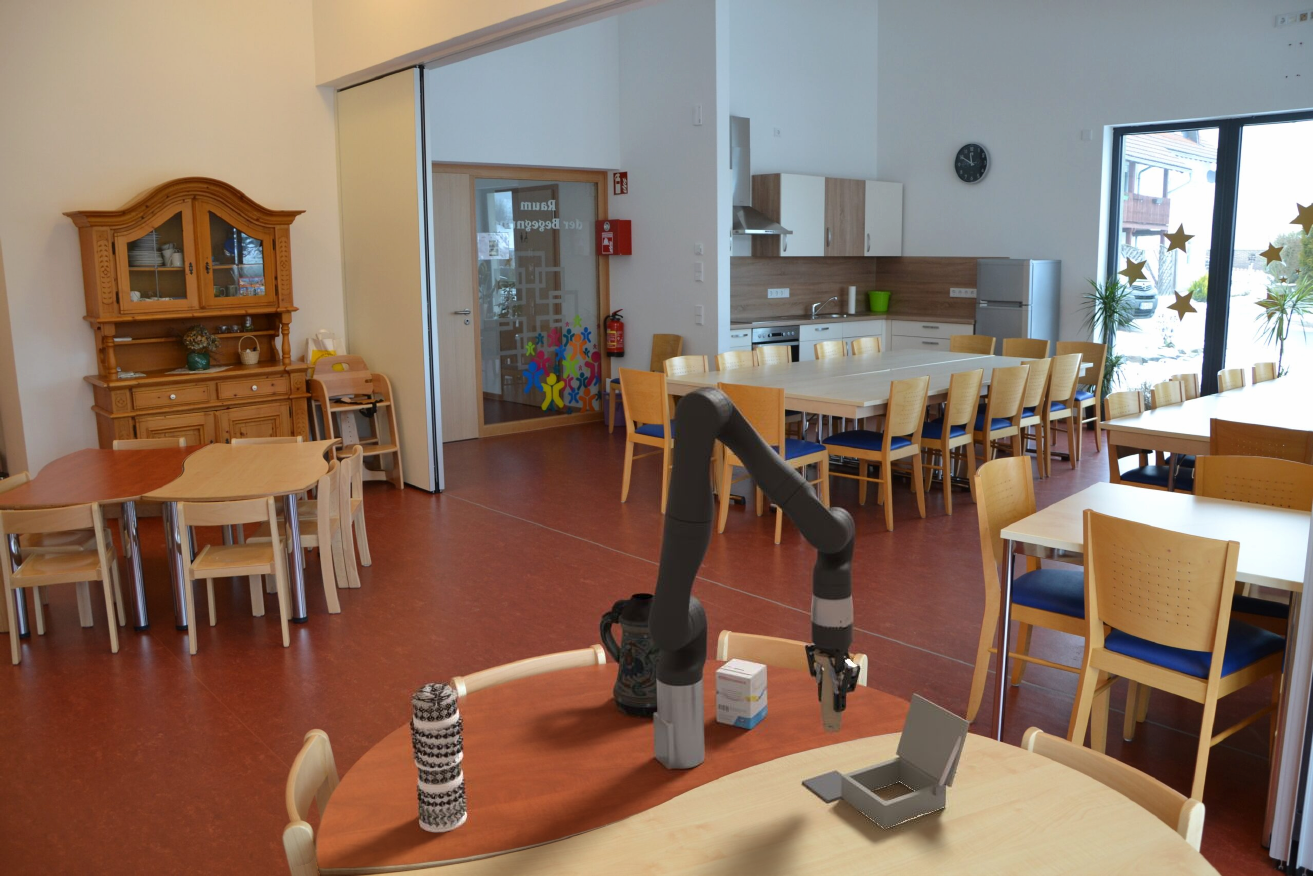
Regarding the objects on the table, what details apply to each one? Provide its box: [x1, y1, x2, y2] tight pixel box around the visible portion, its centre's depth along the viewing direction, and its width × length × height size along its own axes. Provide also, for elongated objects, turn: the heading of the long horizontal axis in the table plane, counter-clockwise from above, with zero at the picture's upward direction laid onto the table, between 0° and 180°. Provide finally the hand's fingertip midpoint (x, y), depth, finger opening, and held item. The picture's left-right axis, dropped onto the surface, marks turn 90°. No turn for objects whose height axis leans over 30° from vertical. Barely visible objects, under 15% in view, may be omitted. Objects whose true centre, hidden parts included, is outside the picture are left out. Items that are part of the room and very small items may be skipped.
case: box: [840, 693, 971, 830], centre depth 178 cm, size 18×14×16 cm
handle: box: [814, 649, 851, 734], centre depth 181 cm, size 5×6×15 cm
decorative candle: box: [409, 682, 468, 833], centre depth 175 cm, size 9×9×25 cm
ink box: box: [714, 658, 768, 730], centre depth 213 cm, size 9×8×12 cm
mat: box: [801, 770, 843, 803], centre depth 184 cm, size 8×8×1 cm
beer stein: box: [599, 592, 663, 719], centre depth 221 cm, size 16×19×25 cm
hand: (831, 706), depth 182 cm, fingers closed on handle, 4 cm apart
